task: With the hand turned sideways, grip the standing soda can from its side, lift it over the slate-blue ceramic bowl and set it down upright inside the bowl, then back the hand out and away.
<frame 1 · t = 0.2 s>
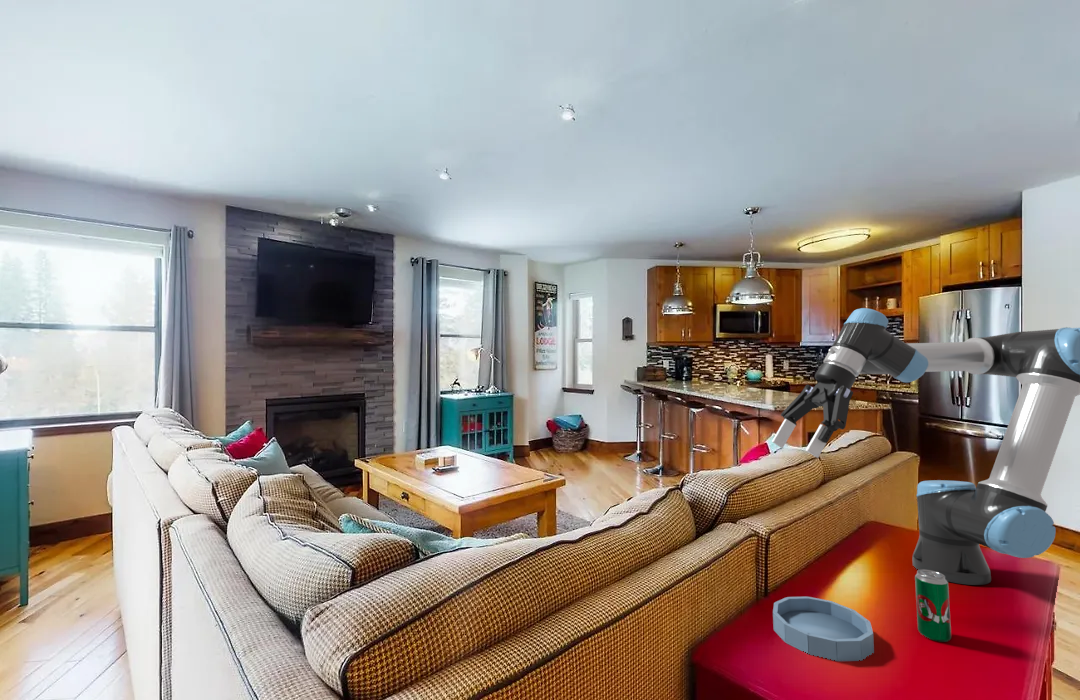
hand: (793, 449, 107), 35 cm above the table, tool tilted 35°, fingers open, 13 cm apart
soda can: (934, 637, 93), on the table
bowl: (821, 635, 94), on the table
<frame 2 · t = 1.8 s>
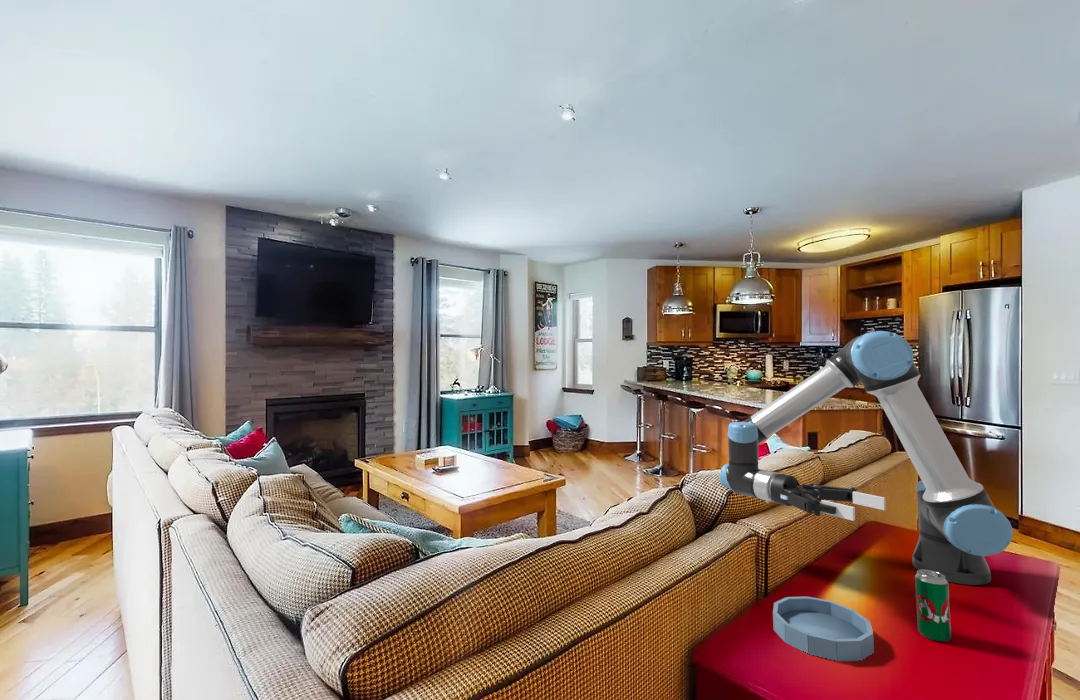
hand: (870, 508, 102), 22 cm above the table, tool horizontal, fingers open, 13 cm apart
nothing on the table moved.
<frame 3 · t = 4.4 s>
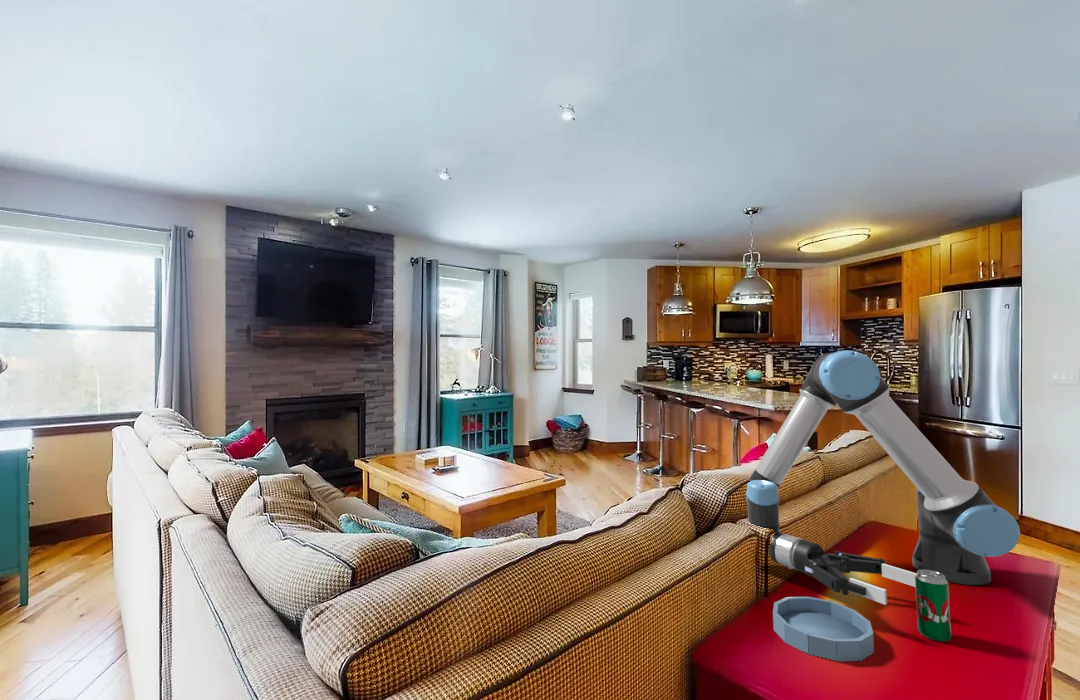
hand: (902, 588, 97), 7 cm above the table, tool horizontal, fingers open, 13 cm apart
nothing on the table moved.
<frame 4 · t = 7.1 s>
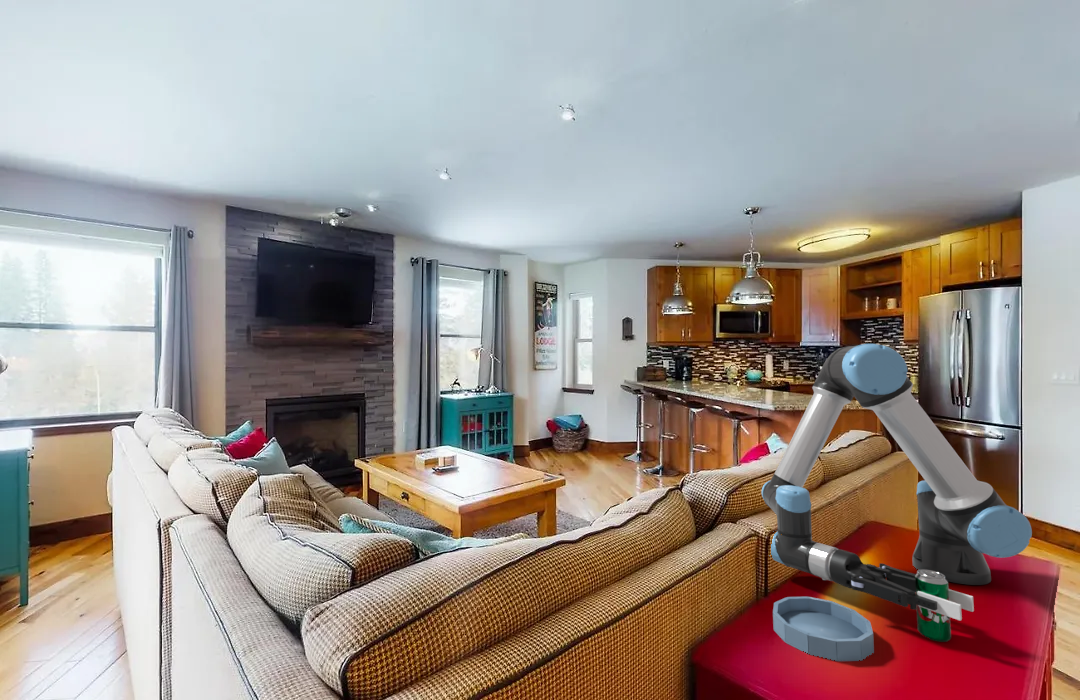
hand: (966, 608, 88), 8 cm above the table, tool horizontal, fingers closed on soda can, 5 cm apart
soda can: (934, 637, 93), on the table, touching gripper
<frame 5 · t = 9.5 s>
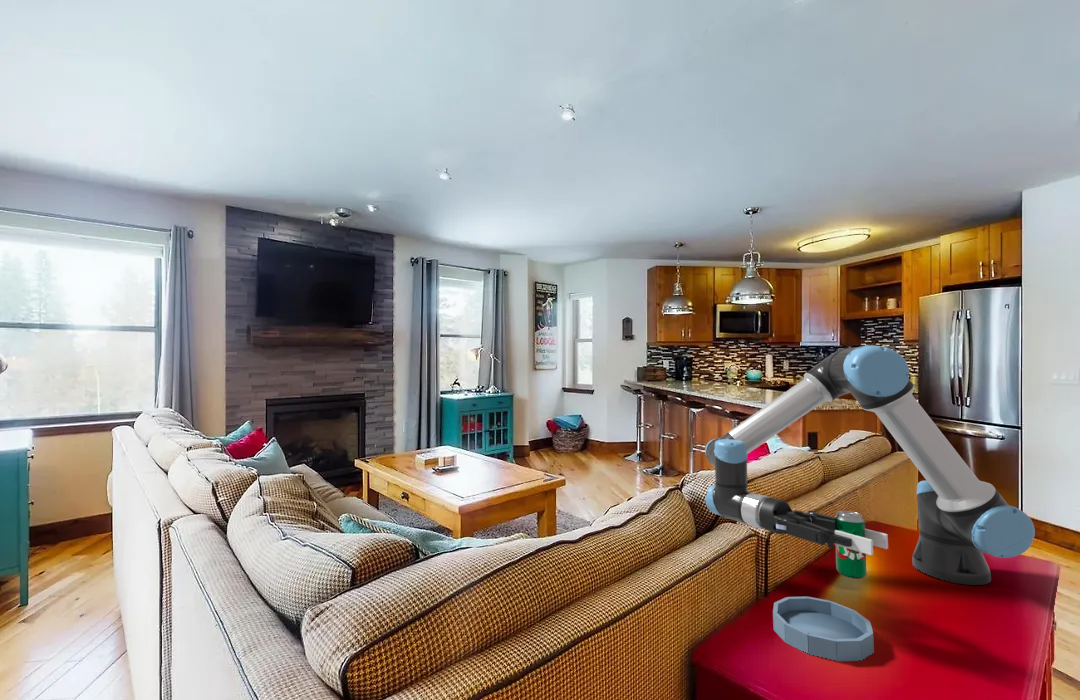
hand: (879, 544, 90), 19 cm above the table, tool horizontal, fingers closed on soda can, 5 cm apart
soda can: (851, 575, 94), point 11 cm above the table, touching gripper
when the fingers open (9 cm above the table, at t = 12.3 s): soda can stays where it is, resting on bowl.
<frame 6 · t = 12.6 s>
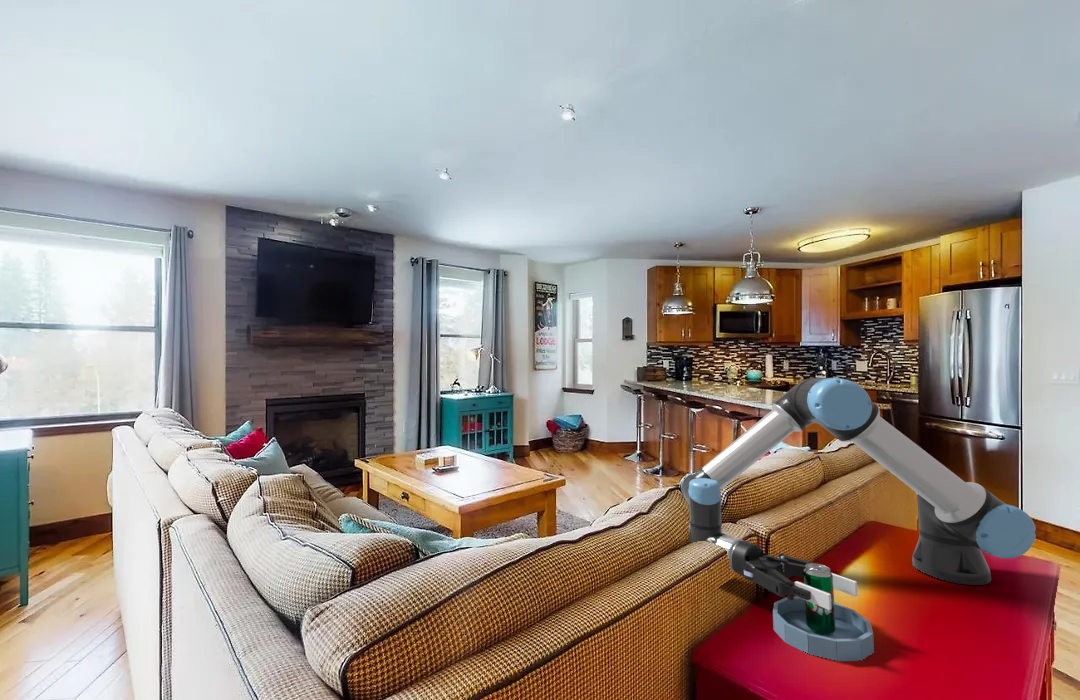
hand: (843, 595, 90), 9 cm above the table, tool horizontal, fingers open, 9 cm apart
soda can: (820, 630, 94), point 1 cm above the table, touching bowl
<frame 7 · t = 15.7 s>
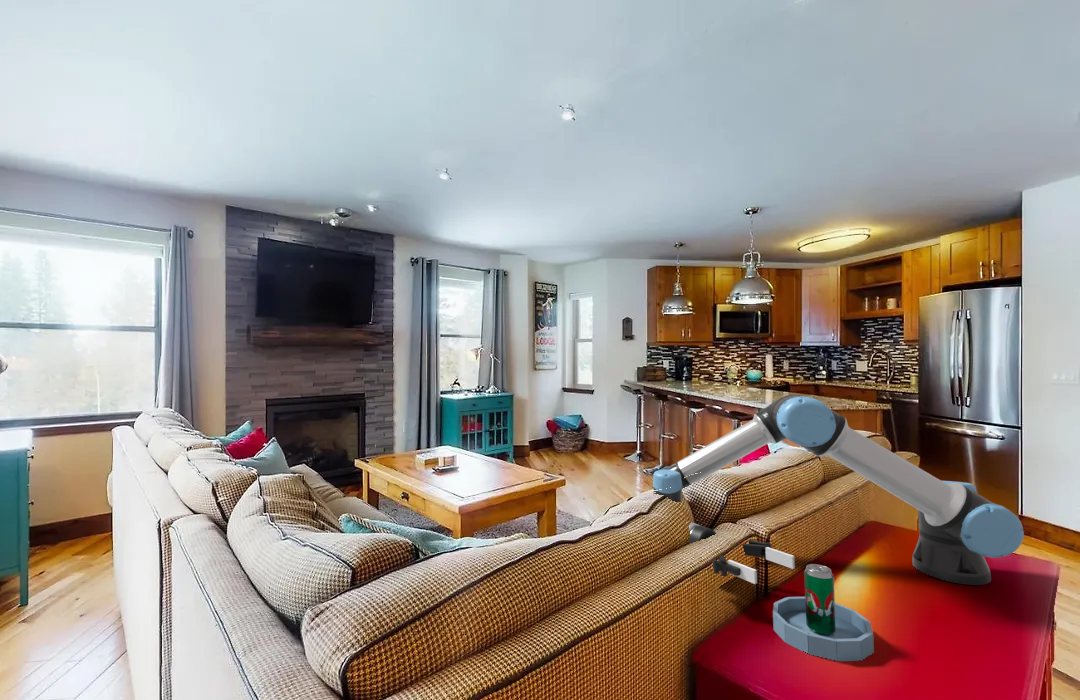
hand: (775, 569, 102), 10 cm above the table, tool horizontal, fingers open, 13 cm apart
nothing on the table moved.
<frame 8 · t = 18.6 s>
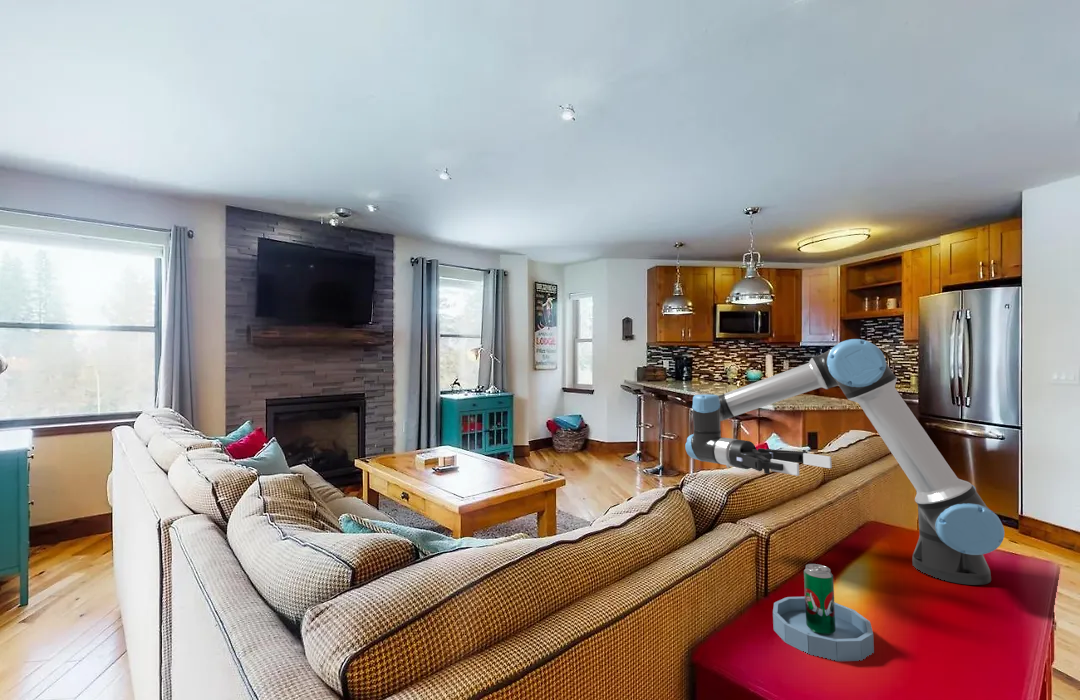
hand: (815, 465, 111), 30 cm above the table, tool horizontal, fingers open, 13 cm apart
nothing on the table moved.
at the end: soda can inside the target area on the bowl (0.0 cm from its centre), point 0.8 cm above the bowl's base; soda can tilted 1°; the gripper is holding nothing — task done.
